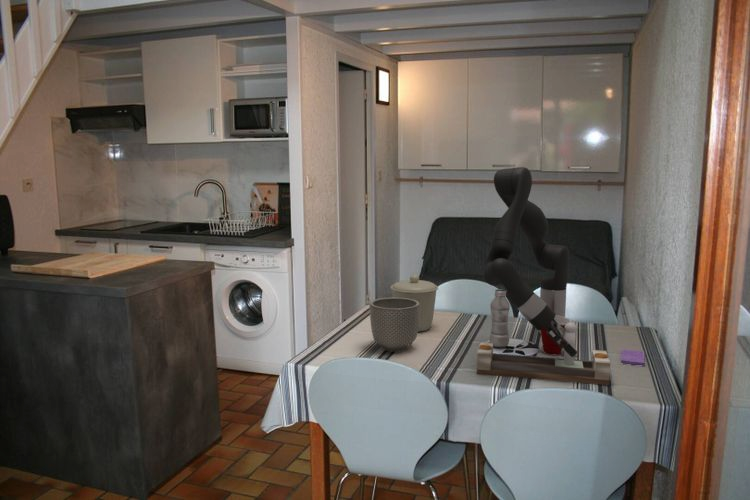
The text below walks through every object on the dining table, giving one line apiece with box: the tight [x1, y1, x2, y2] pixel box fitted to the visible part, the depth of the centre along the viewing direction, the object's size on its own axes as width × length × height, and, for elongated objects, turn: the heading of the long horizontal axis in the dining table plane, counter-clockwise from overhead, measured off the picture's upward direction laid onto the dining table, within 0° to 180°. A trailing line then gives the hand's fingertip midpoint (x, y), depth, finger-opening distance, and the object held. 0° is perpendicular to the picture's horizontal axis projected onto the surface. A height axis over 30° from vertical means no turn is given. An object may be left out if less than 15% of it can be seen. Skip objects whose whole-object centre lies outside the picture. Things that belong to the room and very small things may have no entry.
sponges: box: [620, 349, 645, 367], centre depth 200 cm, size 7×13×2 cm, turn 158°
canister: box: [390, 274, 439, 333], centre depth 235 cm, size 18×18×21 cm
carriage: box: [555, 321, 584, 369], centre depth 185 cm, size 6×8×15 cm
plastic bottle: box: [489, 288, 511, 348], centre depth 213 cm, size 6×7×20 cm
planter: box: [369, 296, 420, 352], centre depth 212 cm, size 17×17×16 cm
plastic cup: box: [540, 315, 572, 356], centre depth 207 cm, size 11×11×12 cm
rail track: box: [476, 341, 611, 386], centre depth 188 cm, size 12×38×7 cm, turn 75°
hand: (574, 350), depth 185 cm, fingers open, 8 cm apart
